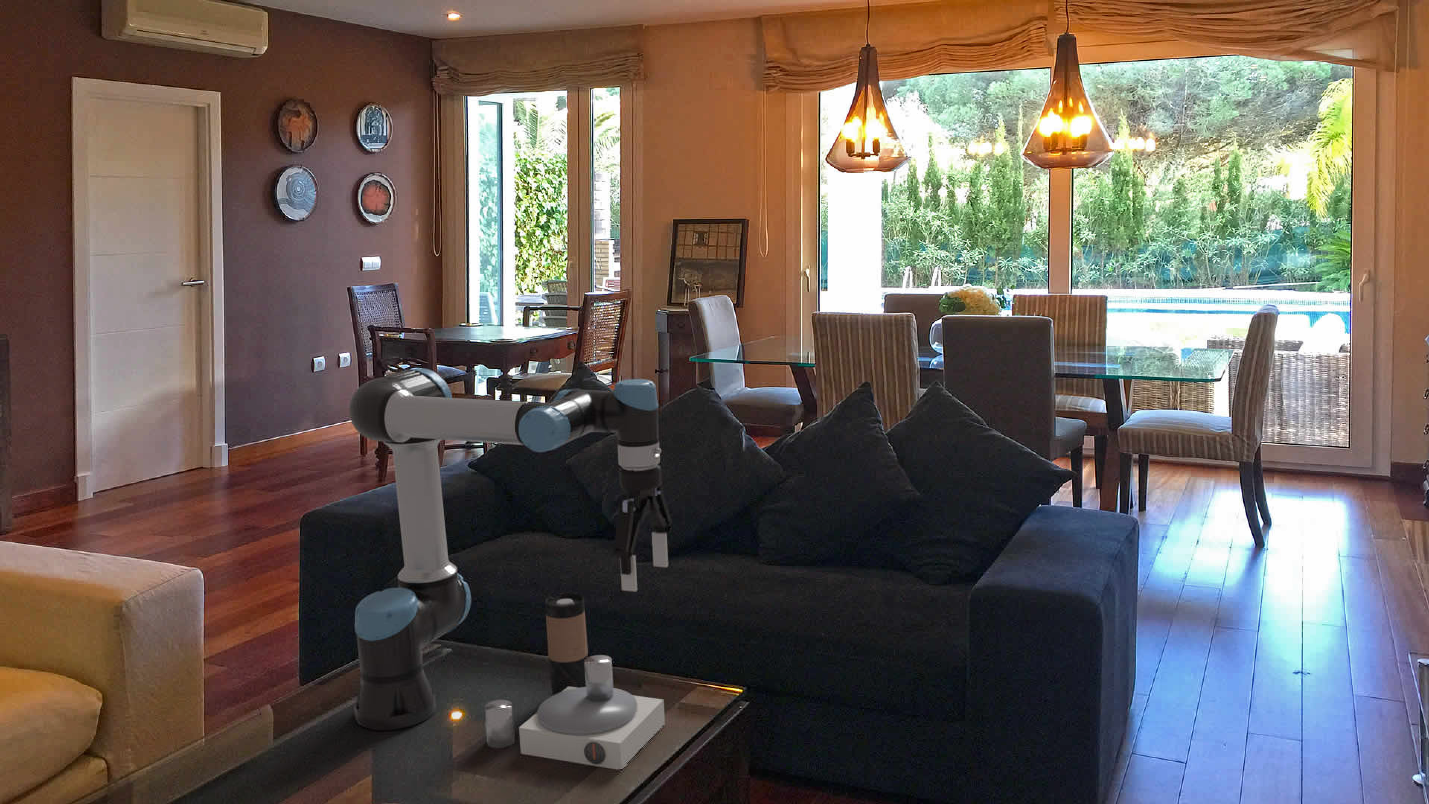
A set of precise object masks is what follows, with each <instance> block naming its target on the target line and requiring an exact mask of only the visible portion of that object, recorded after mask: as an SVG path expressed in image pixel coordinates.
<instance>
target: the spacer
mask: <svg viewBox="0 0 1429 804" xmlns="http://www.w3.org/2000/svg"><path fill="white" fill-rule="evenodd" d="M483 710H484V711H483V712H484V723H485V732H486V733H485V734H486V744H487V746H488V747H490V748H493V749H503V748H506V747H509V746H512V745H513V744H515V741H516V738H515V737H516V736H515V727H514V726H515V724H514V722H515V721H514V712H513V703H512V701H510V700H507V699H496V700H492V701H489V702H487V703H485V705H484V707H483Z"/></svg>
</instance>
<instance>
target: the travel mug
mask: <svg viewBox="0 0 1429 804" xmlns="http://www.w3.org/2000/svg"><path fill="white" fill-rule="evenodd" d="M544 604H545V620H546V635H547V637H546V638H547V652H548V653H547V656H548V663H549V665H548V667H549V673H550V684H551V685H550V686H551V692H552V696H553V695H555V694H558V693H560V692H562V691H563V690H564V689H566V688H567V687H568V686H569V687H576V688H581V687H586V680H585V665H584V661H585V659H586V658H588V657H589V652H588V651H589V650H588V637H587V627H586V626H587V624H586V613H585V612H586V610H585V599H584V596H583V595H581V594H578V593H574V592H565V593H561V595H560V596H557V597H552V596H548V598H546V599H545V603H544Z"/></svg>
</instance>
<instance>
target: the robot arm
mask: <svg viewBox="0 0 1429 804" xmlns="http://www.w3.org/2000/svg"><path fill="white" fill-rule="evenodd" d="M613 389H614V390H594V389H593V390H592V389H581V388H575V389H574V388H573V389H563V390H561V391H559V392H558V393H557V394H556V396H555V397H554V399H553V401H551V402H529V401H517V400H516V401H513V400H512V401H511V400H495V399H475V398H459V397H456V398H455V397H453V396H452V392H451V389H450V387H449V386H448V383H447V382H446V381H445V380H444V379H443V378H442V377H441V375H439V374H438V373H436V372H435V371H433V370H431V369H429V368H422V367H421V368H420V367H416V368H410V369H404V370H401V371H398V372H394V373H392V374H388V375H386V376H382V377H378V378H374V379H370V380H368V381H367V382H365V383H363V384H361V385H360V386H359V387H358V388H357V389H356V390H355V392H354V393H353V394H352V397H351V399H350V403H349V410H348V411H349V418H350V422H351V425H353V428H354V429H355V430H356V431H357V432H358V433H359V434H360V435H361V436H363V437H364V438H365V439H368V440H372V441H375V442H383V444H384V445H386V446H387V447H388V448H390V449H391V450H392V457H393V458H392V459H393V467H394V468H393V470H394V475H395V476H394V477H395V485H396V486H395V487H396V496H397V497H396V498H397V505H398V507H397V508H398V515H399V524H400V535H401V545H402V555H403V563H404V566H403V568H402V569H401V570H400V571H399V573H398V574H397V581H398V587H391V588H389V587H388V588H386V589H383V590H381V591H379V590H378V591H375V592H373V593H371V594H369V595H367V596H366V597H364V598H362V600H361V601H360V602H359V603H358V604H357V605H356V607H355V612H354V632H355V637H356V645H357V654H358V655H357V656H358V662H359V670H360V671H359V672H360V684H359V689H358V692H357V697H356V701H355V705H354V717H356V719H355V721H356V720H357V721H358V722H359V723H360V724H361V725H363V726H364V727H366V728H365V729H367V728H369V729H368V730H371V729H372V731H393V730H395V731H396V730H399V729H400V730H401V729H405V728H409V727H412V726H416V725H418V724H420V723H422V722H425V721H426V720H428V719H429V718H431V717H432V716H433V715H434V713H435V712H436V709H437V703H436V695H435V692H434V691H433V690H432V688H431V686H430V682H429V681H428V678H427V676H426V674H425V672H424V664H423V663H424V662H423V653H422V650H423V648H424V647H426V646H427V645H430V644H431V643H433V642H434V641H436V640H437V639H439V638H440V637H442V636H443V635H446V634H448V633H450V632H452V631H453V630H455V629H456V628H457V627H458V626H459V625H460V624H461V623H462V622H463V621H464V620H465V619H466V617H467V616H468V614H469V611H470V609H471V605H472V596H471V595H472V594H471V590H470V587H469V585H468V583H467V582H465V581H464V577H463V576H462V575H461V574H460V573H458V567H457V566H456V565H455V564H453V563H452V562H450V560H449V555H448V554H449V553H448V543H447V533H446V522H445V514H444V512H445V511H444V502H443V501H444V500H443V491H442V481H441V472H440V461H439V460H440V459H439V451H438V446H439V444H440V442H441V441H442V440H443V441H446V440H447V441H458V442H459V441H460V442H474V443H488V444H489V443H490V444H503V445H505V444H506V445H517V446H518V445H521V446H525V447H526V448H528V449H529V450H531V451H533V452H536V453H544V452H545V453H546V452H547V451H548V452H549V451H554V450H556V449H558V448H561V446H563V445H565V444H567V443H570V442H571V441H574V440H575V439H578V438H581V437H582V436H585V435H587V434H589V433H609V434H610V433H612V434H613V433H616V436H617V437H616V438H617V462H618V466H620V467H619V469H618V472H619V486H620V487H621V489H622V490H625V491H626V492H627V498H626V499H620V500H619V501H618V517H617V524H616V531H615V536H614V543H613V550H612V556H614V557H619V565H620V579H621V590H622V591H626V592H637V591H638V582H637V581H638V580H637V579H638V577H637V561H636V558H637V557H636V556H637V555H635V554H634V551H635V546H636V544H637V539H638V535H639V531H640V527H641V525H642V524H643V523H644V522H645V518H647V520H648V522H649V524H650V525H651V527H652V529H653V531H652V532H651V545H652V562H653V567H659V568H668V566H669V555H668V554H669V553H668V536H667V535H668V534H667V533H671V532H672V529H673V528H672V524H673V521H672V517H671V514H670V509H669V508H668V504H667V501H666V498H665V494H664V486H663V483H662V467H661V466H660V464H659V463H660V462H661V455H660V454H661V453H662V449H661V448H660V435H659V433H660V432H659V403H658V395H657V386H656V384H655V383H654V382H653V381H652V380H650V379H644V378H635V379H631V378H629V379H623V380H620V381H617V382H616V383H615V385H614V388H613ZM364 727H363V728H364Z"/></svg>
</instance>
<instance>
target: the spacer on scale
mask: <svg viewBox="0 0 1429 804" xmlns="http://www.w3.org/2000/svg"><path fill="white" fill-rule="evenodd" d="M612 661H613V659H612V658H611V656H609V655H603V654H596V655H591V656H588V658H586V659H585V661H584V665H585V680H586V695H587V699H588V700H590V701H593V702H603V701H607V700H610V699H611V698H613V696H614V691H613V688H614V677H613V663H612Z"/></svg>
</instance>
